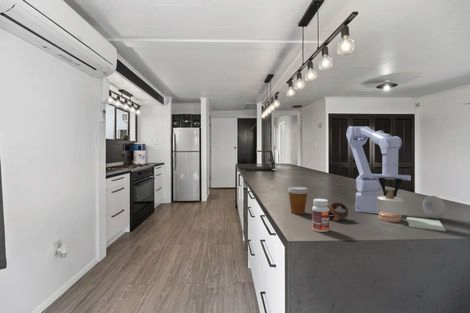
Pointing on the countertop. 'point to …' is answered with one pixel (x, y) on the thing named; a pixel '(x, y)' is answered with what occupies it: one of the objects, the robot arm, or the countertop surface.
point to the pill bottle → (320, 215)
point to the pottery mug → (337, 214)
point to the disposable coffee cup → (298, 199)
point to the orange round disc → (389, 216)
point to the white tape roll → (438, 207)
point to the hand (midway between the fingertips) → (389, 196)
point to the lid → (390, 196)
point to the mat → (425, 224)
